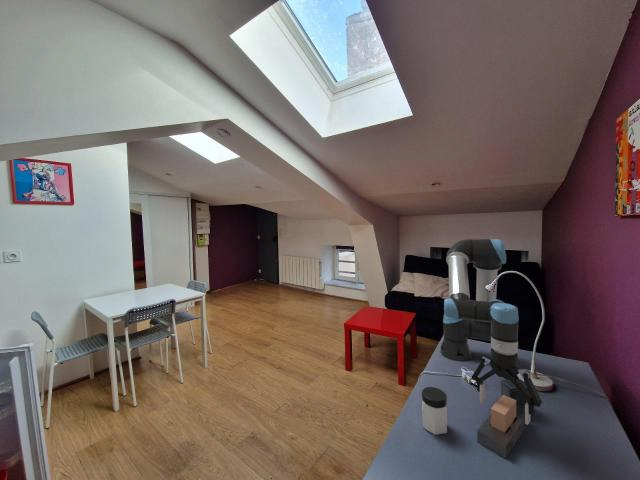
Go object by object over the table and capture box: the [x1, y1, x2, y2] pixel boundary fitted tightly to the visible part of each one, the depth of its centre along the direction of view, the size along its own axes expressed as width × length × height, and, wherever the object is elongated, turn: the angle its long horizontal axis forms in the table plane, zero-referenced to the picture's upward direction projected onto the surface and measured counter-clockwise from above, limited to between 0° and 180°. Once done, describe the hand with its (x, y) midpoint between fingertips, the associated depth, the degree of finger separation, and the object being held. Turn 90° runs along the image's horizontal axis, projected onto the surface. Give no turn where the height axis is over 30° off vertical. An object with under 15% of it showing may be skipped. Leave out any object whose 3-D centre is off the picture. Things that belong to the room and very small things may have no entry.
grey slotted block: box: [476, 408, 528, 459], centre depth 91 cm, size 22×8×4 cm, turn 128°
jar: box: [421, 386, 448, 436], centre depth 95 cm, size 9×8×12 cm
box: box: [500, 378, 531, 411], centre depth 101 cm, size 8×6×11 cm
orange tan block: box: [490, 395, 516, 434], centre depth 91 cm, size 11×4×10 cm, turn 128°
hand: (503, 411), depth 91 cm, fingers open, 13 cm apart
